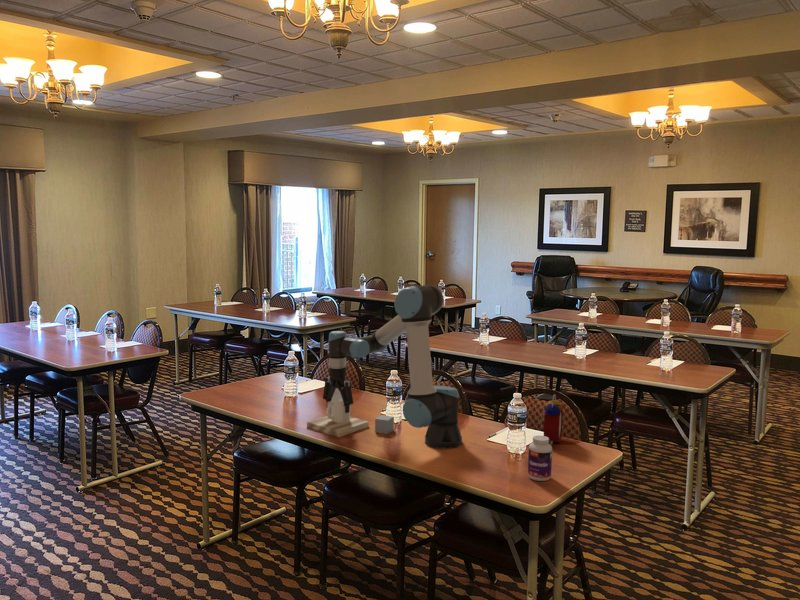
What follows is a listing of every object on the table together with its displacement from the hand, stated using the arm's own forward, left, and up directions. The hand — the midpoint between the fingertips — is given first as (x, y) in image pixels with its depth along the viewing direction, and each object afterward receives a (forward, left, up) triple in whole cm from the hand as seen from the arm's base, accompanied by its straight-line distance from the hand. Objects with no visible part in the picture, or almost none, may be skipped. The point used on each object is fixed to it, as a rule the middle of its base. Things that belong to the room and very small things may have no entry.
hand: (337, 417), depth 277 cm
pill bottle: (-94, -4, -5) cm, 94 cm away
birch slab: (0, 0, -5) cm, 5 cm away
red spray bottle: (-80, -42, -5) cm, 90 cm away
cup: (+36, -34, -5) cm, 50 cm away
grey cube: (-19, -9, -4) cm, 21 cm away
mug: (0, 0, -2) cm, 2 cm away
